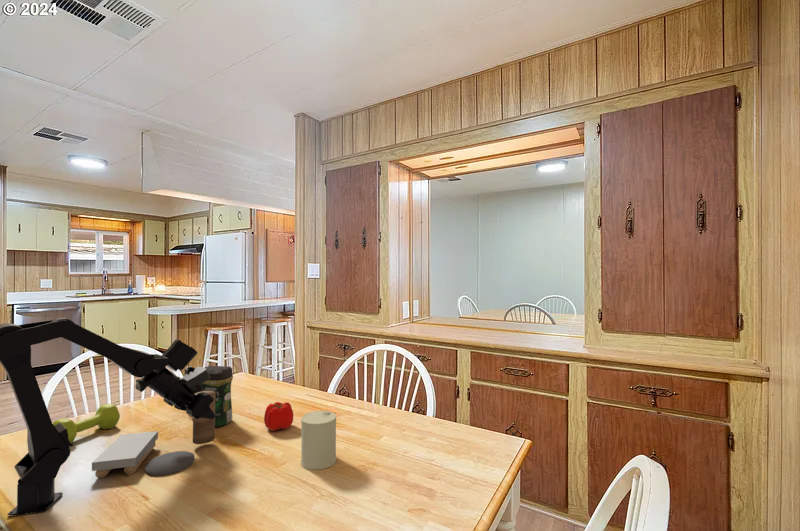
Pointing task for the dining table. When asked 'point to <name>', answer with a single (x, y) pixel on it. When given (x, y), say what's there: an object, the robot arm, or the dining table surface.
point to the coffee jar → (220, 392)
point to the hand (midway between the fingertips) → (209, 414)
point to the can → (318, 440)
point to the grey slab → (125, 453)
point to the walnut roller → (204, 425)
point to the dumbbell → (92, 421)
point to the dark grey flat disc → (169, 463)
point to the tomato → (278, 416)
